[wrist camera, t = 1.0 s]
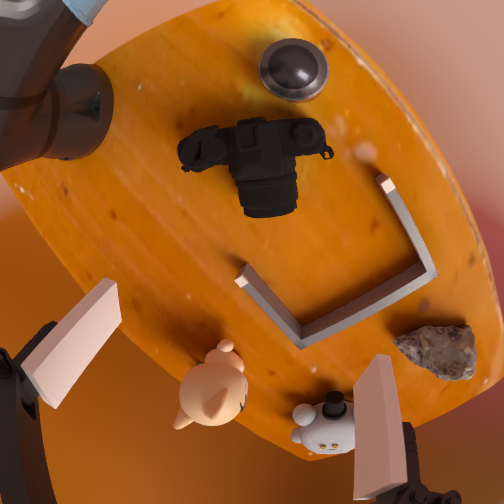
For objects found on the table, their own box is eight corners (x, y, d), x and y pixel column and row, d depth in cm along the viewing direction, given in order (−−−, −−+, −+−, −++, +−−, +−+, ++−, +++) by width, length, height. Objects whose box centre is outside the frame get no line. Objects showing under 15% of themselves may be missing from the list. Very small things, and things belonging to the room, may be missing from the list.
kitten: (219, 385, 50) (195, 448, 37) (180, 354, 48) (145, 417, 35) (276, 359, 43) (259, 437, 30) (232, 321, 42) (199, 399, 28)
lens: (256, 74, 26) (242, 63, 21) (300, 42, 23) (296, 23, 18) (293, 116, 28) (288, 113, 22) (338, 84, 25) (344, 73, 19)
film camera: (209, 207, 34) (177, 234, 27) (196, 130, 30) (157, 135, 23) (333, 198, 31) (340, 225, 23) (326, 114, 27) (332, 109, 19)
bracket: (241, 267, 37) (234, 280, 34) (382, 172, 28) (389, 178, 25) (301, 335, 40) (299, 351, 37) (431, 264, 31) (439, 277, 28)
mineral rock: (386, 332, 37) (397, 383, 28) (441, 286, 32) (468, 332, 23) (425, 366, 38) (437, 411, 29) (473, 329, 33) (494, 371, 25)
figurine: (369, 432, 49) (381, 374, 43) (370, 461, 41) (386, 408, 35) (295, 435, 54) (288, 379, 48) (290, 464, 46) (281, 413, 40)
